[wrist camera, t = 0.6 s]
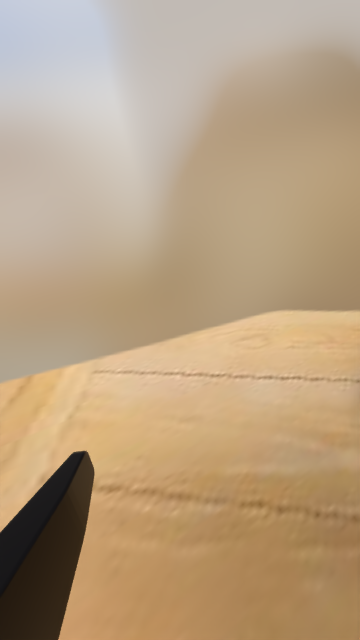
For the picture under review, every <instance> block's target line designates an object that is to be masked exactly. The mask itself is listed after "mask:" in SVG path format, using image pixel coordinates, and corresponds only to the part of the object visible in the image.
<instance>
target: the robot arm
mask: <svg viewBox="0 0 360 640" xmlns="http://www.w3.org/2000/svg"><path fill="white" fill-rule="evenodd" d="M93 481H94V467H93V464H92V462H91V459H90V456H89V454H88V452H87V451H78V452H74V453H72V454H71V455H70V456H69V457H68V458H67V460H66V461H65V462H64V463H63V464H62V465H61V466H60V467H59V468H58V470H57V471H56V472H55V473H54V474H53V475H52V476H51V477H50V478H49V479H48V481H47V482H46V483H45V484H44V485H43V486H42V487H41V488H40V489H39V490H38V492H37V493H36V494H35V495H34V496H33V497H32V498H31V499H30V500H29V501H28V503H27V504H26V505H25V506H24V507H23V508H22V509H21V510H20V511H19V512H18V514H17V515H16V516H15V517H14V518H13V519H12V520H11V521H10V522H9V523H8V525H7V526H6V527H5V528H4V529H3V530H2V531H1V532H0V640H58V639H59V635H60V631H61V627H62V623H63V619H64V615H65V611H66V607H67V603H68V599H69V595H70V591H71V587H72V583H73V579H74V575H75V571H76V568H77V564H78V560H79V556H80V552H81V548H82V544H83V540H84V535H85V531H86V525H87V519H88V513H89V507H90V500H91V494H92V487H93Z"/></svg>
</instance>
